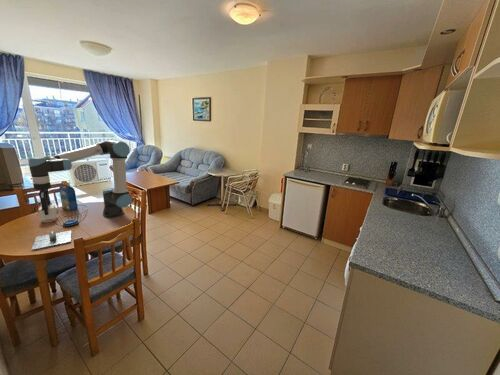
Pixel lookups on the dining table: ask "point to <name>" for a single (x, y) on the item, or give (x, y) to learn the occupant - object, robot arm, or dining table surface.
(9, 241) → the dining table surface
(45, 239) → the panel
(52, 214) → the white box
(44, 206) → the robot arm
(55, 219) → the teacup with lid
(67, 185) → the blue food package
